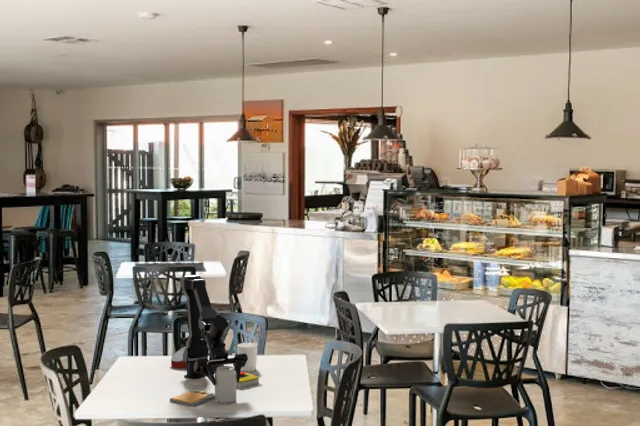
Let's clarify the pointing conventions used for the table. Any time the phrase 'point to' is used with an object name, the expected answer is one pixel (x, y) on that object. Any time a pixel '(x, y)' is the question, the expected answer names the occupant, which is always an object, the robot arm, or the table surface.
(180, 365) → the grey red slanted block
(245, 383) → the emergency button
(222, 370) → the can
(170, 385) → the table surface
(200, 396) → the indicator board
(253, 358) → the white cup
